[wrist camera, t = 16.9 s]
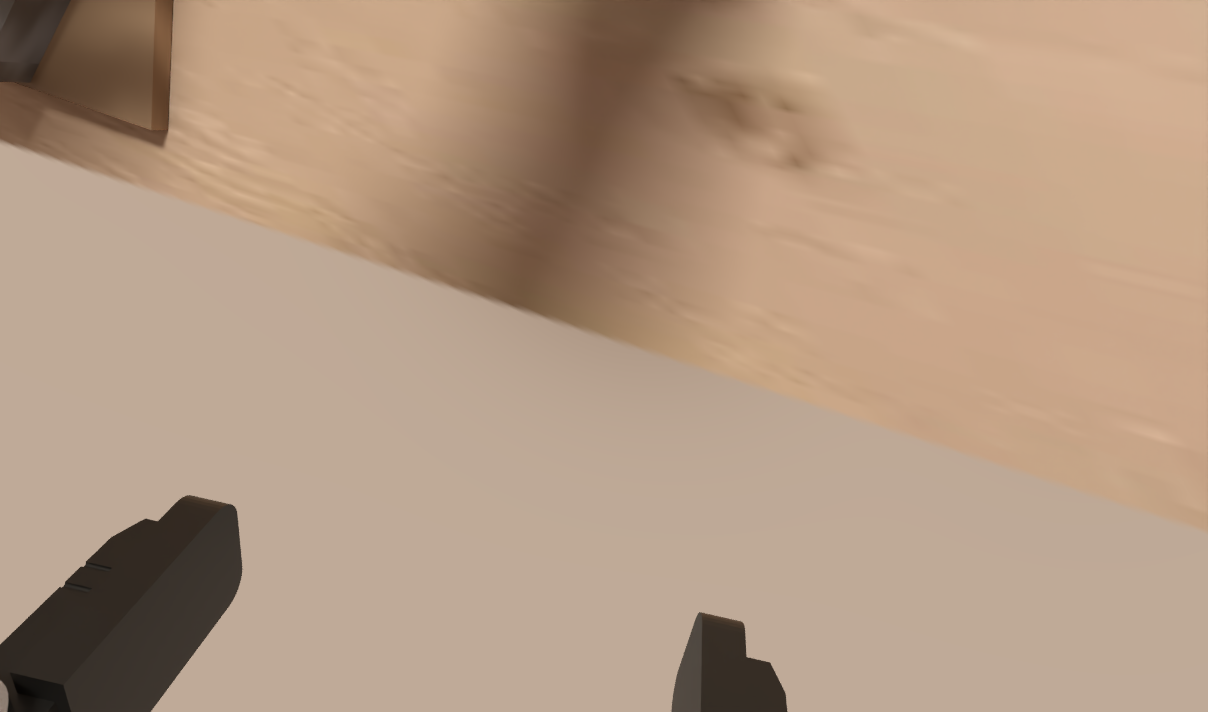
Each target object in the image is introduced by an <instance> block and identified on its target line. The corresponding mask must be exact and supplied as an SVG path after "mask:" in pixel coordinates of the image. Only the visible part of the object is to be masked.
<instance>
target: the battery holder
mask: <svg viewBox="0 0 1208 712" xmlns="http://www.w3.org/2000/svg"><path fill="white" fill-rule="evenodd" d="M172 11H173V0H0V82H15V83H18V84H21V85H23V86H26V87H29V88H32V89H35V90H38V91H41V92H43V93H46V94H49V95H52V96H55V97H58V98H60V99H63V100H66V101H69V102H72V103H75V104H78V105H80V106H83V107H86V108H89V109H92V110H95V111H97V112H100V113H103V114H106V115H109V116H112V117H115V118H117V119H120V120H123V121H126V122H129V123H132V124H134V125H137V126H140V127H143V128H146V129H149V130H168V111H169V86H170V61H171V36H172Z"/></svg>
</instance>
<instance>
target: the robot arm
mask: <svg viewBox="0 0 1208 712" xmlns="http://www.w3.org/2000/svg"><path fill="white" fill-rule="evenodd" d="M241 576H242V560H241V549H240V538H239V527H238V518H237V511H236V508H235V507H234V506H233V505H231V504H226V503H222V502H217V501H213V500H208V499H204V498H199V497H195V496H190V495H189V496H185V497H183V498H181V499H180V500H179V501H178V502H176V503H175V504H174V505H173V506H172V508H171V509H170V510H169V511H168V512H167V513H166V514H165V515H164V516H163V517H162V518H161V519H160V520H159V521H153V520H149V519H144V520H142V521H140V522H138V523H137V524H135V525H133V526H131V527H129V528H128V529H126V530H124V531H122V532H120V533H118V534H116V535H115V536H113V537H111V538H110V539H109V540H108V541H107V542H106V543H105V544H104V545H103V546H102V547H101V548H100V549H99V550H98V551H97V552H96V553H95V554H94V555H92V556H91V557H90V558H89V559H88V560H87V561H86V565H85V566H84V567H80V568H79V569H78V570H77V571H76V572H75V573H74V574H73V575H72V576H71V577H70V578H69V579H68V580H67V581H66V582H65V585H64V587H62V588H61V587H59V588H58V589H57V590H56V591H55V592H54V593H53V594H52V595H51V596H50V597H49V598H48V599H47V600H46V601H45V602H44V603H43V604H42V605H41V606H40V607H39V608H38V609H37V610H36V611H35V612H34V613H33V614H31V615H30V617H28V619H26V620H25V621H24V622H23V623H22V624H21V625H20V626H19V627H18V628H17V629H16V630H15V631H14V632H13V633H12V634H11V635H10V636H9V637H8V638H7V639H6V640H5V641H4V642H2V643H1V644H0V712H151V710H152V709H153V708H154V706H155V705H156V704H157V702H158V701H159V700H160V698H161V697H162V696H163V694H164V693H165V692H166V690H167V689H168V688H169V686H170V685H171V684H172V682H173V681H174V680H175V678H176V677H177V675H178V674H179V673H180V671H181V670H182V669H183V667H184V666H185V665H186V663H187V662H188V661H189V659H190V658H191V657H192V655H193V654H194V653H195V651H196V650H197V649H198V647H199V646H200V645H201V643H202V642H203V641H204V639H205V638H206V636H207V635H208V634H209V632H210V631H211V630H212V628H213V627H214V625H215V624H216V623H217V622H218V620H219V619H220V618H221V616H222V615H223V614H224V612H225V611H226V610H227V608H228V607H229V605H230V604H231V602H232V601H233V599H234V597H235V594H236V592H237V590H238V587H239V584H240V580H241ZM672 712H787V705H786V695H785V692H784V690H783V688H782V685H781V683H780V682H779V680H778V677H777V676H776V674H775V671H774V670H773V668H772V666H771V663H769V662H765V661H761V660H756V659H752V658H747V657H746V640H745V628H744V624H743V623H742V622H741V621H736V620H732V619H727V618H723V617H718V616H714V615H710V614H705V613H700V612H699V613H698V615H697V617H696V620H695V623H694V626H693V629H692V632H691V635H690V637H689V640H688V644H687V646H686V649H685V652H684V656H683V658H682V661H681V664H680V667H679V670H678V674H677V678H676V682H675V688H674V694H673V702H672Z"/></svg>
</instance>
